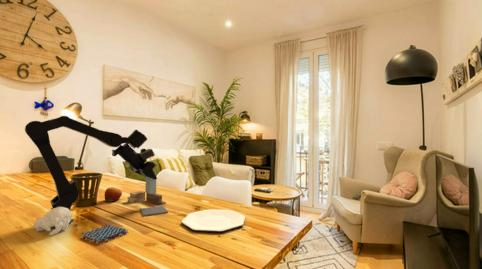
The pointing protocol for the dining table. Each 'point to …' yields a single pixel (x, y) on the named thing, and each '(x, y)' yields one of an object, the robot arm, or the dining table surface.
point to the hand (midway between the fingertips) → (153, 178)
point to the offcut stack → (136, 197)
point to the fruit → (112, 194)
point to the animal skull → (54, 220)
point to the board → (150, 185)
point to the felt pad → (153, 211)
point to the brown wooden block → (155, 199)
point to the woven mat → (104, 234)
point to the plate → (213, 220)
